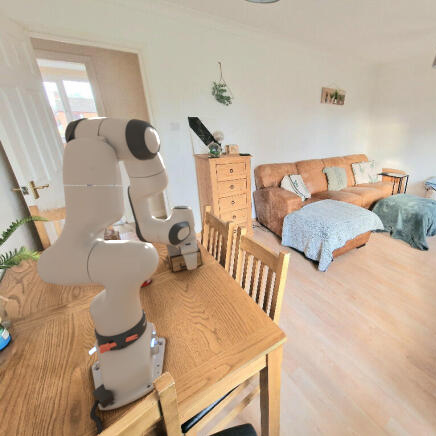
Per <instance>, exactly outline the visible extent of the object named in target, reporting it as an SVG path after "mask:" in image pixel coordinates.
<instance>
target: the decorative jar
mask: <svg viewBox="0 0 436 436" xmlns="http://www.w3.org/2000/svg"><path fill="white" fill-rule="evenodd" d="M104 240H105V241H117V240H122V238H121V235H120V232H119V230H117V229H112V228H108V227H107V228H106V230H105V233H104Z"/></svg>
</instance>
